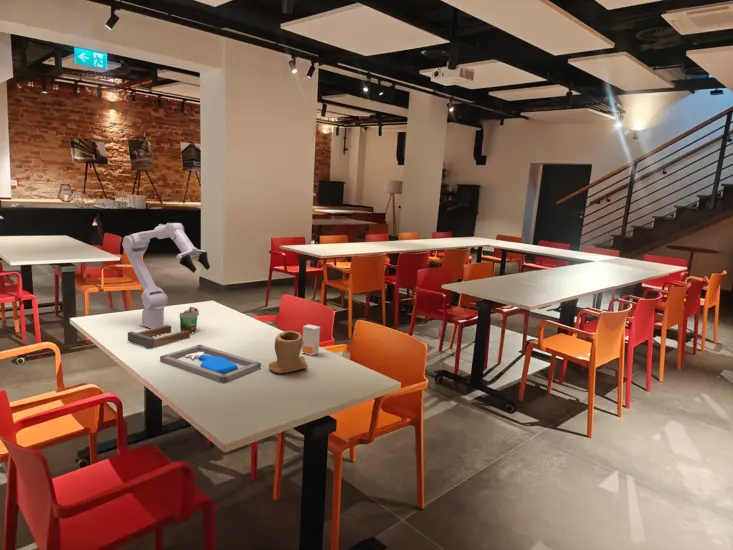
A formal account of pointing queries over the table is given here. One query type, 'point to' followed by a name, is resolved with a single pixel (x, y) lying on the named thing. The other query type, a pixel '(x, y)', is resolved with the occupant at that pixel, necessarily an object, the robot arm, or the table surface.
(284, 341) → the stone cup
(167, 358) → the rim
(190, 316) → the food container
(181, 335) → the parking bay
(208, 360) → the spray bottle
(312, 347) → the skincare box
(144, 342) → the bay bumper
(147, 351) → the table surface
